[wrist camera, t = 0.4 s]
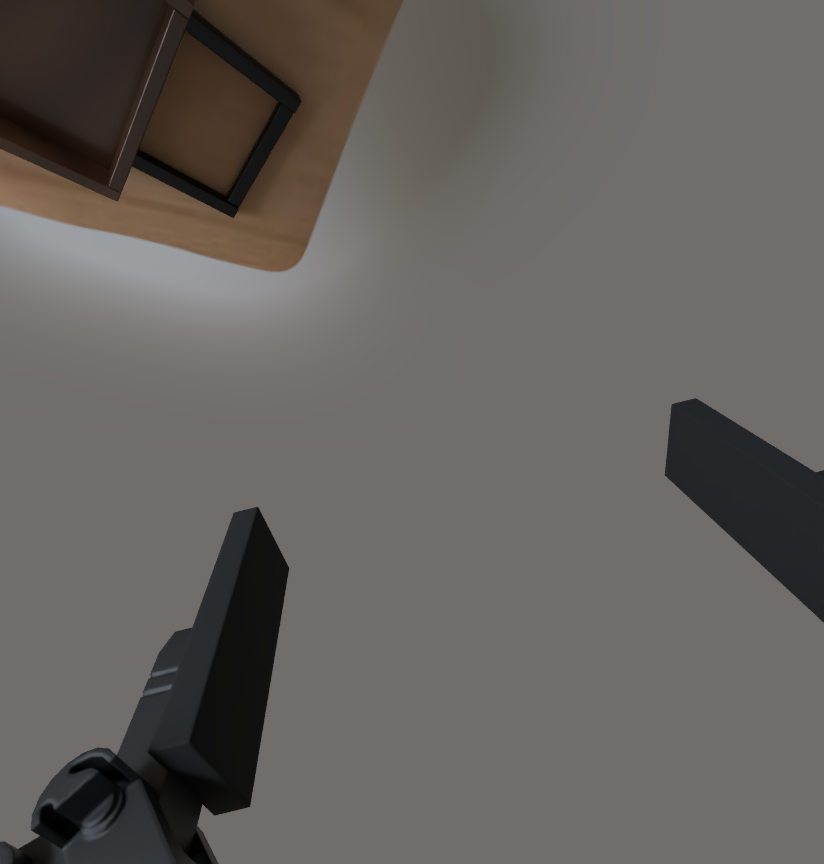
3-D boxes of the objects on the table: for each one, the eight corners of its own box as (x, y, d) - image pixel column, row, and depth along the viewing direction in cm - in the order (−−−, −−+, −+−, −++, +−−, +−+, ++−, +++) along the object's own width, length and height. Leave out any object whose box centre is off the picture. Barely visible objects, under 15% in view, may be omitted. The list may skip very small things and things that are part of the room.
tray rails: (-462, -152, 18) (-478, -146, 18) (-618, -643, 12) (-648, -653, 12) (232, 211, 39) (233, 218, 38) (299, 95, 33) (301, 101, 32)
